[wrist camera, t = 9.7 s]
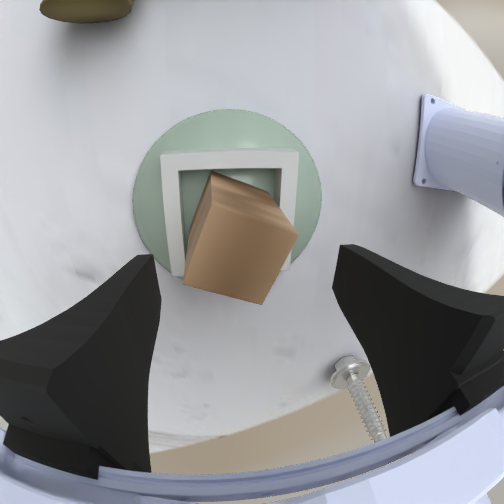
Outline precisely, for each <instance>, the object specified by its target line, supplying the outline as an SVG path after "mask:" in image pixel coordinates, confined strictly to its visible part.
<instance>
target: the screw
mask: <svg viewBox="0 0 504 504" xmlns="http://www.w3.org/2000/svg"><path fill="white" fill-rule="evenodd" d="M334 366H335V368H336V370H337V371H336V372H335V373H334V374H333V375H332V377H331V379H330V382H331V385H332V386H333V387H334V388H338V389H345V388H348V390H350V391H349V392H350V394H351V397H352V398H353V401H354V402H355V406H357V410H359V414H360V415H361V419H363V423H365V427H366V428H367V432H369V436H372V440H374V442H375V443H376V442H378V441H381V440H384V439H386V438H387V436H386V434H385V430H384V428H383V426H384V425H382V423H381V422H382V420H380V419H379V417H380V416H378V415H377V413H378V411H376V410H375V409H376V407H374V406H373V404H374V403H372V402H371V400H372V399H371V398H369V396H370V395H369V394H367V392H368V391H367V390H365V388H366V387H365V386H363V384H364V383H363V382H361V381H362V380H363V379H364V378H365V377H366V376H367V374H368V372H369V370H370V365H369V363H368V362H367V361H365V360H356V361H355V359H354V357H353V355H352V356H347V357H342V358H341V359H340V360H339V361H338V362H337V363H336V364H335V365H334Z"/></svg>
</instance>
